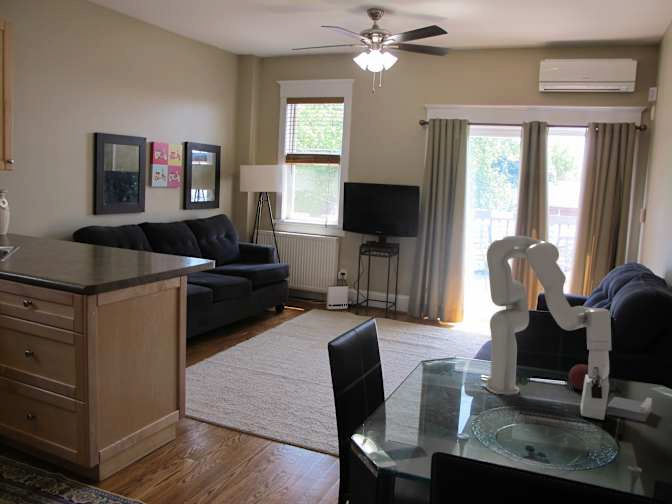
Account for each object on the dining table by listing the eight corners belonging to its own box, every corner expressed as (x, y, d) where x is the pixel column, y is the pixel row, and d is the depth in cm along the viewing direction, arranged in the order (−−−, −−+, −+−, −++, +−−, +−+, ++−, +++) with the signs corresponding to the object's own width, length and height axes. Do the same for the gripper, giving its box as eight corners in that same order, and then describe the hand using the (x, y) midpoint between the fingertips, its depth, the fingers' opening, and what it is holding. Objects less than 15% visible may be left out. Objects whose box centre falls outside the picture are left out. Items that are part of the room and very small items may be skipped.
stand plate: (606, 413, 207) (607, 400, 207) (614, 404, 217) (615, 391, 216) (644, 422, 200) (645, 407, 200) (650, 412, 210) (651, 398, 209)
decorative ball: (568, 384, 240) (570, 359, 239) (595, 387, 236) (597, 363, 235) (567, 391, 231) (568, 366, 230) (595, 395, 226) (596, 369, 225)
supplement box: (604, 420, 201) (609, 385, 198) (580, 415, 203) (586, 381, 201) (602, 411, 208) (608, 377, 205) (579, 406, 210) (585, 373, 208)
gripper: (593, 339, 212) (594, 387, 212) (580, 348, 198) (582, 399, 198) (616, 341, 207) (617, 389, 208) (605, 350, 193) (606, 402, 194)
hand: (600, 394), depth 203 cm, fingers open, 9 cm apart
